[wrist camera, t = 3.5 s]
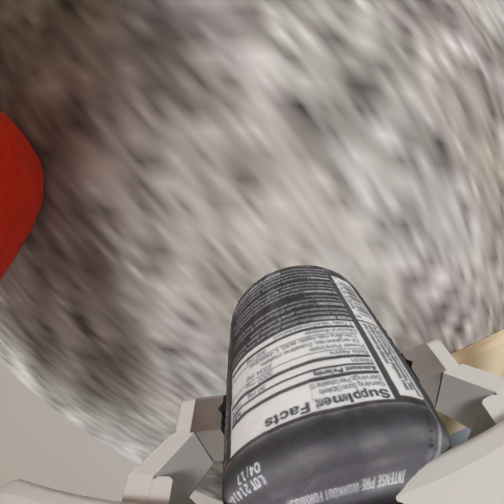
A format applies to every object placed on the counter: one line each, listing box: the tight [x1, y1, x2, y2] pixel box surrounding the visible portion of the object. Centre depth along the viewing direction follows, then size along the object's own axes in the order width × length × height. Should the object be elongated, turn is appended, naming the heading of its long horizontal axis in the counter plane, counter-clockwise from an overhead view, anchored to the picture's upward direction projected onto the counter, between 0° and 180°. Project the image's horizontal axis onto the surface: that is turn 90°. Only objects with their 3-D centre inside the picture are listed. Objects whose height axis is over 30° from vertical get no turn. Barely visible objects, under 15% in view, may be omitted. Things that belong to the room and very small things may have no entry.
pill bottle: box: [222, 265, 452, 504], centre depth 8 cm, size 6×6×11 cm
